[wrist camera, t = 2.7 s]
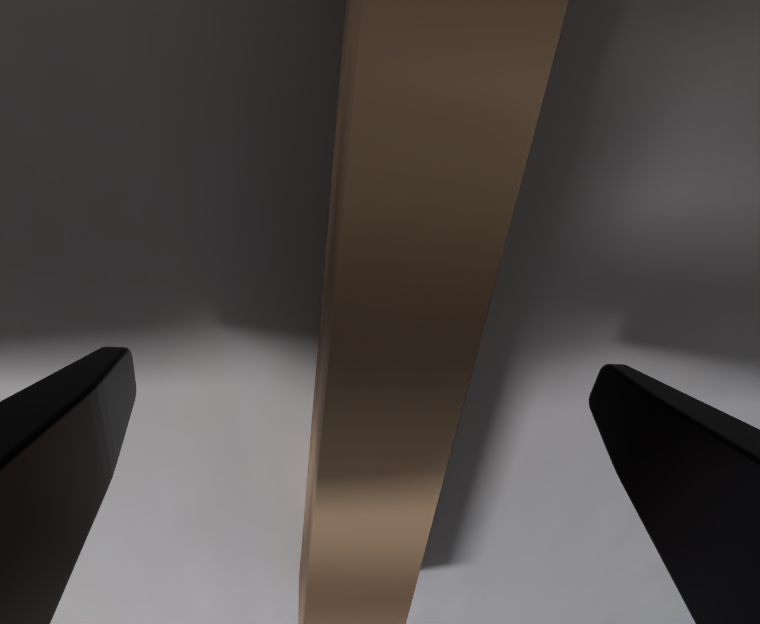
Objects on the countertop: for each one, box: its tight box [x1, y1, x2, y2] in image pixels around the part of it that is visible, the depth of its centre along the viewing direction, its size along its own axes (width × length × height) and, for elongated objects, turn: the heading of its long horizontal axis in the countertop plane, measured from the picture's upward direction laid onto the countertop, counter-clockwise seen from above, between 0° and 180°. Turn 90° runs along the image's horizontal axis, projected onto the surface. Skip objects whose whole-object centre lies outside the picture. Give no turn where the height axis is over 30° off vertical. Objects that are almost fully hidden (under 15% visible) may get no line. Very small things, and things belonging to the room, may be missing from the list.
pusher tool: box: [298, 0, 569, 624], centre depth 9 cm, size 21×7×4 cm, turn 173°
